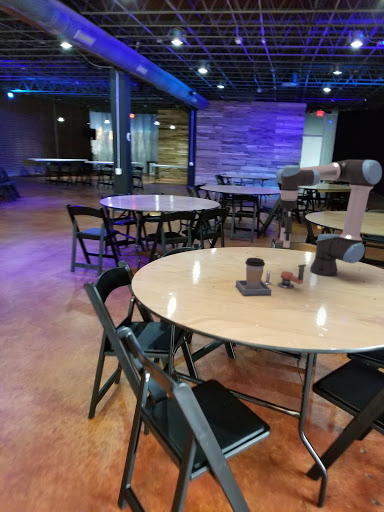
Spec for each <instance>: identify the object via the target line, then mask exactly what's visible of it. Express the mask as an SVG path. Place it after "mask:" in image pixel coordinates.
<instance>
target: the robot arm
mask: <svg viewBox="0 0 384 512" xmlns="http://www.w3.org/2000/svg"><path fill="white" fill-rule="evenodd" d="M382 172H383V169H382V166H381V164H380V163H379V161H377V160H373V159H345V160H341V161H335V162H330V163H329V164H326V165H325V164H323V165H317V166H316V165H315V166H314V165H313V166H304V167H303V166H302V167H301V166H300V165H290V164H288V165H287V164H286V165H284V166H283V168H281V169H279V170H278V171H277V173H276V178H275V179H276V181H277V182H278V183H279V184H281V189H280V190H281V191H280V192H279V194H280V200H279V208H281V209H282V215H281V221H280V235H279V241H280V242H281V241H282V242H283V244H282V245H283V246H282V247H283V248H288V249H290V245H291V244H290V243H291V235H292V233H293V232H292V229H293V211H292V210H295V209H297V205H298V204H297V202H298V201H297V200H298V193H299V187H315V186H317V185H318V184H319V183H320V181H324V180H325V181H326V180H327V181H328V180H330V181H333V182H334V181H341V182H347V183H349V187H350V189H351V190H350V194H349V199H348V204H347V209H346V215H345V219H344V225H343V228H342V233H341V234H337V233H322V234H318V237H317V240H316V245H315V246H316V248H315V254H314V260H313V261H312V262H311V265H310V268H309V272H311V273H313V274H315V275H318V276H323V275H324V277H334V276H333V275H335V276H337V275H338V267H337V266H338V265H337V260H338V261H341V262H344V263H349V264H355V263H358V262H359V261H360V260H361V259H362V258H363V256H364V254H365V251H366V248H365V246H364V244H363V243H362V241H363V239H362V237H361V230H362V227H363V223H364V219H365V218H364V217H365V213H366V208H367V205H368V204H367V203H368V199H369V194H370V191H371V190H373V188H374V186H375V185H376V184H377V183H379V181H380V180H381V178H382V174H383V173H382ZM336 274H337V275H336Z"/></svg>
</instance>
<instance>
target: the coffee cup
mask: <svg viewBox="0 0 384 512" xmlns="http://www.w3.org/2000/svg"><path fill="white" fill-rule="evenodd" d="M245 265H246V268H245V270H246V271H245V273H246V274H245V275H246V280H247V289H259V286H260V282H261V280H262V276H263V273H264V267H265V266H266V262H265V260H264V259H263V258H259V257H248V258H246V260H245Z"/></svg>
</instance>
